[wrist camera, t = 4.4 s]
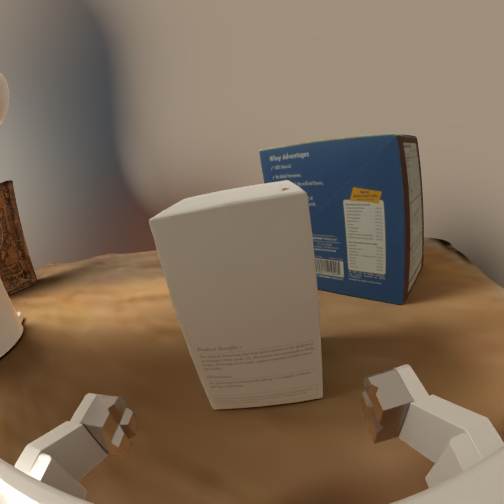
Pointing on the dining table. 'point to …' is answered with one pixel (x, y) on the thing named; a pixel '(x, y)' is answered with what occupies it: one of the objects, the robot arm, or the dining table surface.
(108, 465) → the dining table surface
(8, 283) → the book
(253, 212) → the supplement box
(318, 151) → the protein box
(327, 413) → the dining table surface
